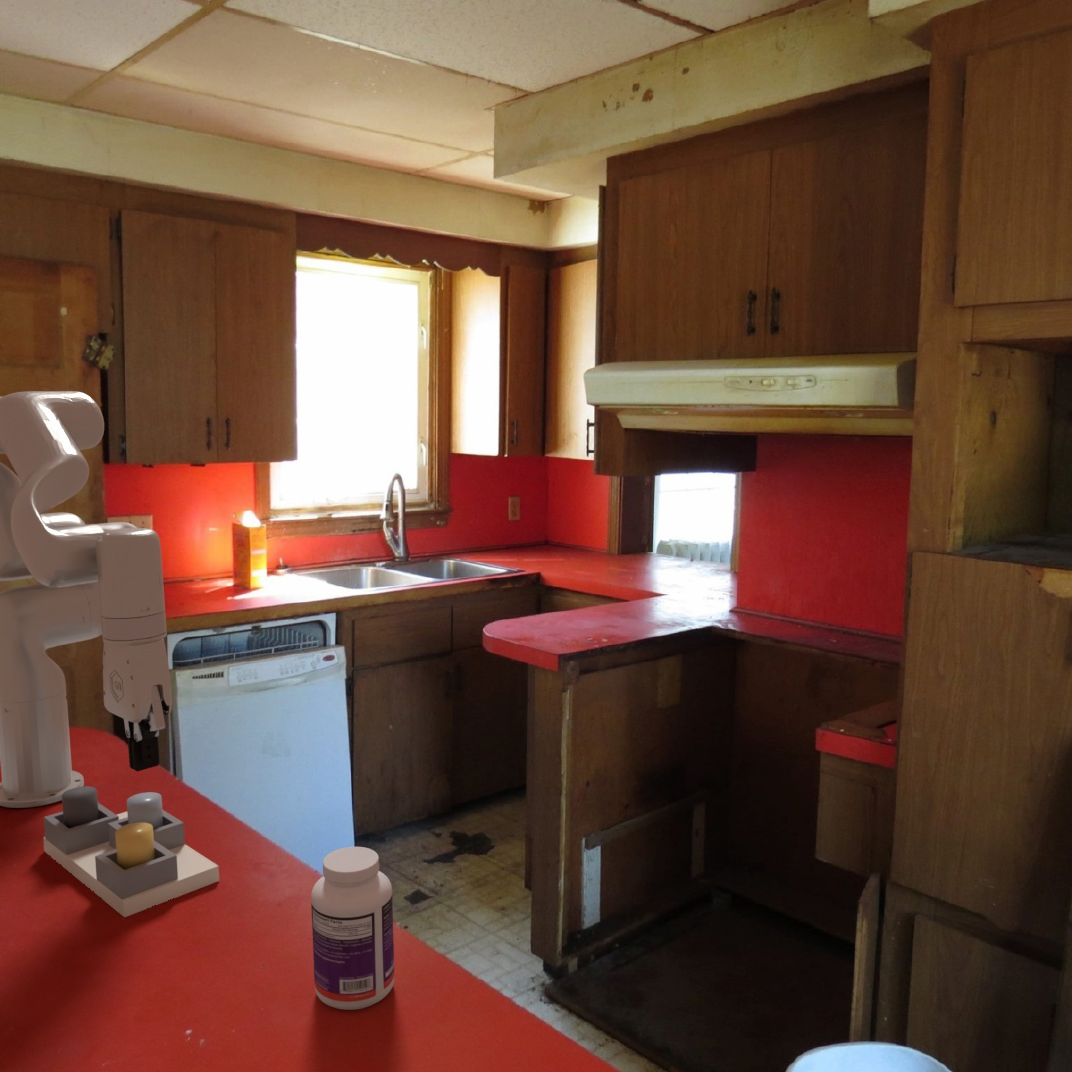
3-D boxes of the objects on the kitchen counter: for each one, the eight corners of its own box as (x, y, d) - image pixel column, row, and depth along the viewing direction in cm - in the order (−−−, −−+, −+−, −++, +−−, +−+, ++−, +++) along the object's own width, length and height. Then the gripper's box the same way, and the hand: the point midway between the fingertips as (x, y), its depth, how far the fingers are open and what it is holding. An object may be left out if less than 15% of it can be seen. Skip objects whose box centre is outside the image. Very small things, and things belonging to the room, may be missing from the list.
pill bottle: (359, 959, 108) (355, 833, 106) (411, 987, 103) (408, 855, 101) (298, 994, 102) (293, 861, 100) (350, 1026, 97) (345, 886, 95)
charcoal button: (58, 821, 132) (56, 793, 132) (90, 812, 135) (88, 783, 135) (71, 831, 129) (69, 802, 129) (104, 821, 132) (102, 792, 132)
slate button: (123, 828, 130) (121, 799, 130) (154, 818, 133) (152, 789, 133) (137, 838, 127) (135, 808, 127) (169, 827, 130) (167, 798, 130)
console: (44, 851, 133) (41, 815, 132) (132, 823, 142) (130, 789, 141) (124, 917, 117) (121, 877, 116) (219, 880, 125) (217, 843, 124)
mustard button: (111, 861, 121) (109, 830, 121) (145, 849, 124) (143, 819, 124) (126, 873, 118) (124, 841, 118) (161, 861, 121) (159, 829, 121)
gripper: (79, 623, 129) (90, 761, 131) (131, 641, 118) (142, 790, 121) (136, 614, 134) (146, 746, 136) (191, 630, 124) (200, 773, 126)
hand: (144, 766), depth 129 cm, fingers closed
